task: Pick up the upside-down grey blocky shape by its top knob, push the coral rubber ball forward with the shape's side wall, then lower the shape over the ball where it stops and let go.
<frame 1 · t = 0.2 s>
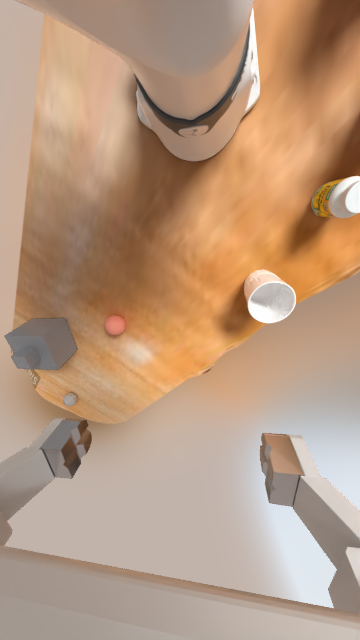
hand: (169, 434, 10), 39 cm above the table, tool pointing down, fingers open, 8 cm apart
white cup: (259, 284, 45), on the table
supplement bottle: (326, 199, 37), on the table
grey blocky shape: (55, 334, 59), on the table
ball: (115, 325, 52), on the table
golf ball: (74, 394, 71), on the table
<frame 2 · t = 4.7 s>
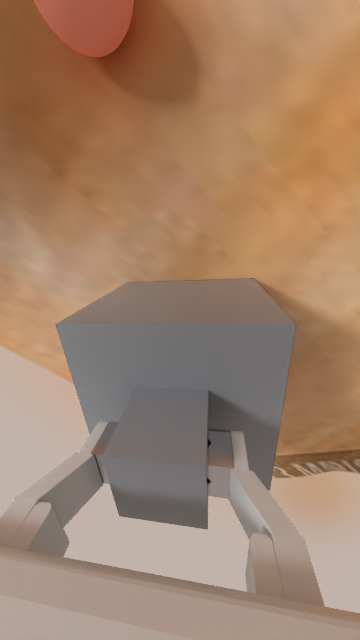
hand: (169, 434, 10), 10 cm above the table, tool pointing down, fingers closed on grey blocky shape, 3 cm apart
grey blocky shape: (190, 337, 19), on the table, touching gripper
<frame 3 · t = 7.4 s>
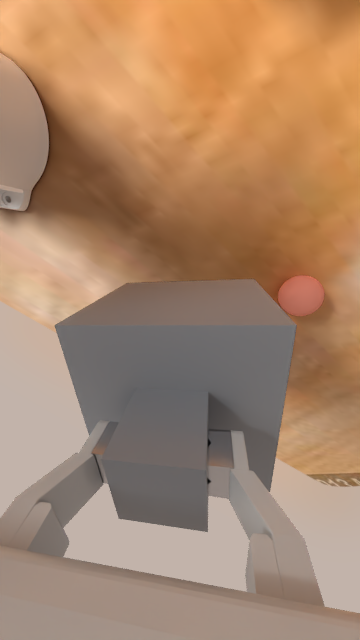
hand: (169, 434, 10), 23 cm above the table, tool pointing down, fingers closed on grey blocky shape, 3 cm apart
grey blocky shape: (190, 337, 19), point 13 cm above the table, touching gripper
ball: (300, 295, 26), on the table
when the fingers open (12 cm above the table, at t = 10.1 s): grey blocky shape stays where it is, resting on ball.
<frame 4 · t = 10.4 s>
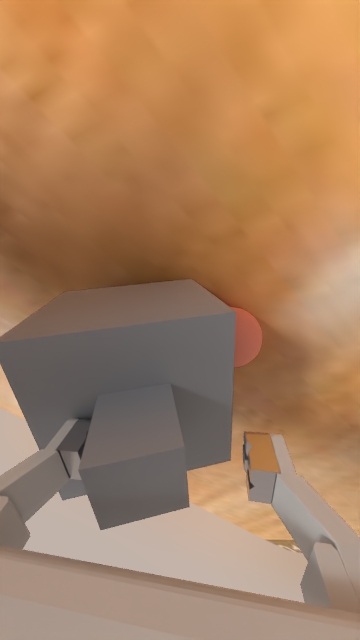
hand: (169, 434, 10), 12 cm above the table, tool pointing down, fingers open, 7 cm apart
grey blocky shape: (139, 340, 19), point 2 cm above the table, tilted 19°, touching ball, gripper
ball: (230, 336, 17), on the table, touching grey blocky shape
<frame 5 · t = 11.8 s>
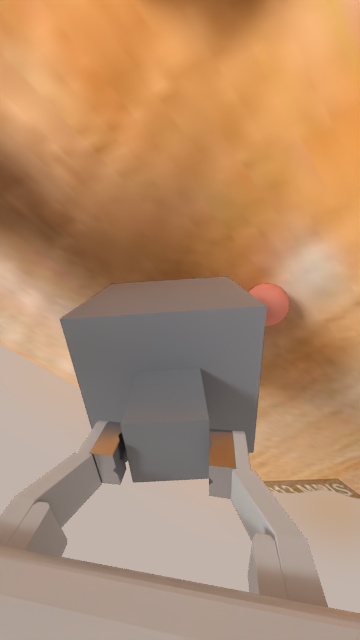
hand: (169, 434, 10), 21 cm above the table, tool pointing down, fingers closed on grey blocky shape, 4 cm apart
grey blocky shape: (173, 332, 20), point 9 cm above the table, tilted 10°, touching gripper
ball: (265, 304, 25), on the table
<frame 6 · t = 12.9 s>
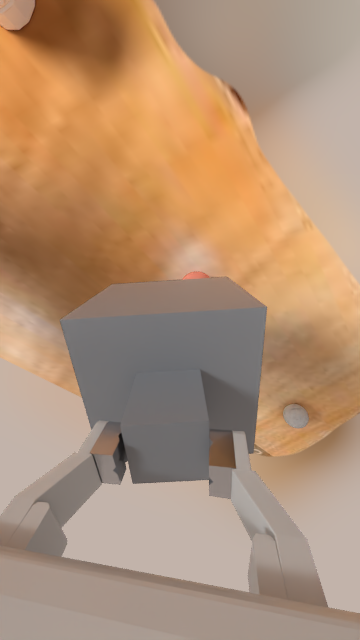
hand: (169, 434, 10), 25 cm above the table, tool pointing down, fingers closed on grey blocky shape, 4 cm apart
grey blocky shape: (173, 332, 20), point 14 cm above the table, tilted 8°, touching gripper
ball: (196, 289, 30), on the table
golf ball: (291, 406, 39), on the table
when the fingers open (11 cm above the table, at t = 16.5 s): grey blocky shape stays where it is, on the table.
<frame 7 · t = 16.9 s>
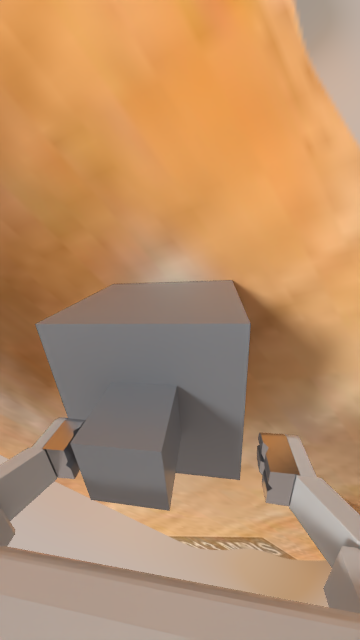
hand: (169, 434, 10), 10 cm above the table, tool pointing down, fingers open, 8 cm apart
grey blocky shape: (174, 336, 19), on the table
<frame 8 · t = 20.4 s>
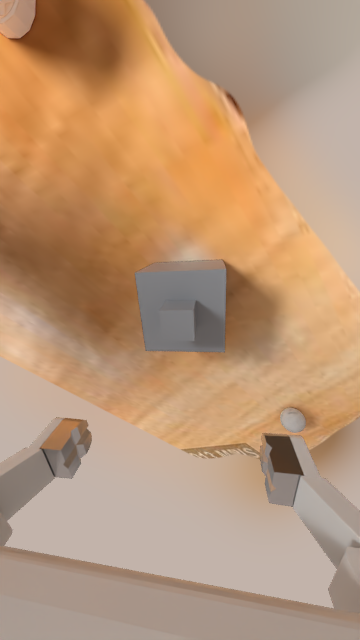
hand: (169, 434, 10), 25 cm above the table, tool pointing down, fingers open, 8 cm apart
grey blocky shape: (189, 294, 33), on the table
golf ball: (288, 410, 39), on the table
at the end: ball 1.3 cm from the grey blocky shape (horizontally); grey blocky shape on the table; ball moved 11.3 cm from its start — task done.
